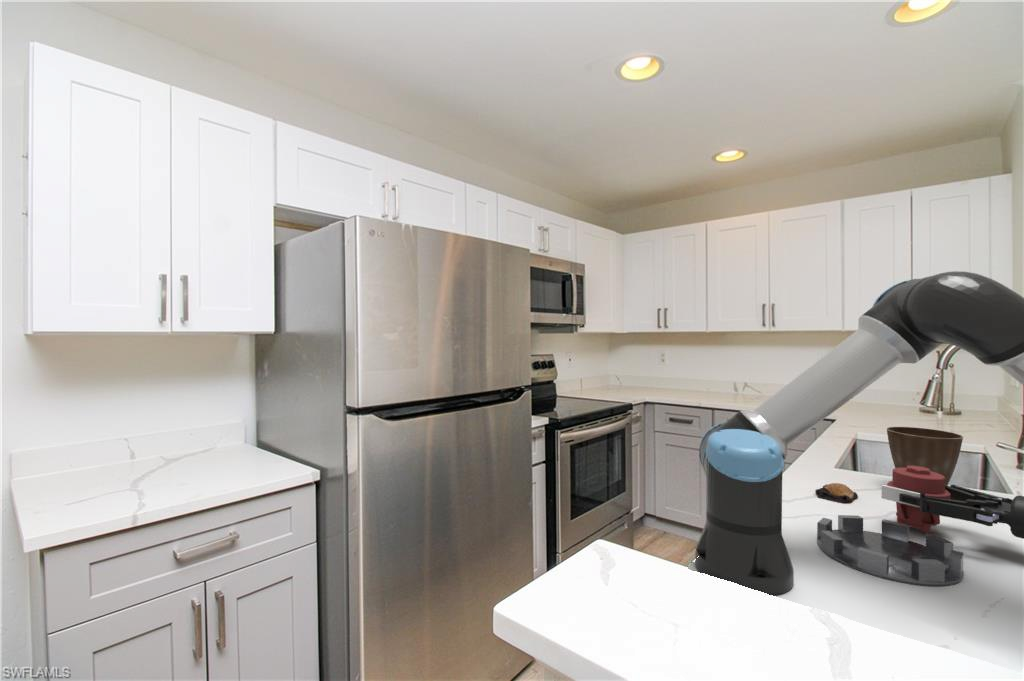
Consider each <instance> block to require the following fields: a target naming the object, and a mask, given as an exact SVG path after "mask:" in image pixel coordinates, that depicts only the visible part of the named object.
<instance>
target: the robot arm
mask: <svg viewBox="0 0 1024 681" xmlns="http://www.w3.org/2000/svg"><path fill="white" fill-rule="evenodd" d="M857 326H858V327H857V328H858V329H857V330H855V332H853V333H852V334H850V335H849V336H847V337H846V339H844V340H843V341H841V342H840V343H839V344H838V345H837V346H835V347H834V348H833V349H831V350H830V351H828V352H827V353H826V354H825V355H823V356H822V357H821V358H820V359H818V360H817V361H816V362H815V363H813V364H812V365H811V366H809V367H808V368H807V369H805V371H803V372H802V373H800V374H799V375H798V376H796V377H795V378H794V379H792V380H791V381H790V382H788V384H786V385H785V386H783V387H782V388H781V389H779V390H778V391H777V392H776V393H774V394H773V395H771V397H770V398H768V399H767V400H766V401H764V402H763V403H762V404H760V405H758V407H756V408H755V409H753V410H746V409H745V410H743V409H740V410H739V411H738V412H736V413H735V414H734V415H733V416H732V417H730V418H729V419H727V421H724V422H722V423H718V424H716V425H713V426H712V427H710V428H709V429H707V431H706V432H705V433H704V435H703V436H702V438H701V441H700V443H699V448H698V452H699V453H698V454H699V455H698V457H699V461H700V462H699V463H700V465H701V466H702V468H703V471H704V474H705V477H706V478H705V480H706V482H705V483H706V491H705V492H706V500H705V502H706V509H705V510H706V512H705V513H706V516H705V517H706V518H705V524H704V526H703V528H702V531H701V535H700V537H699V540H698V541H697V542H698V543H697V546H696V547H695V554H694V555H695V556H694V557H695V559H696V560H695V559H694V561H695V567H696V569H697V570H698V571H699V573H700V572H702V573H705V574H708V575H710V576H714V577H717V578H720V579H724V580H727V581H731V582H734V583H737V584H739V585H742V586H745V587H748V588H751V589H754V590H758V591H761V592H764V593H767V594H770V595H769V596H774V595H780V594H784V593H786V592H789V591H790V590H791V589H792V588H793V586H794V585H795V584H794V581H795V580H794V576H795V573H794V572H795V571H794V570H795V569H794V566H793V563H792V560H791V558H790V554H789V552H788V548H787V546H786V542H785V540H784V537H783V528H782V526H783V525H782V524H783V522H782V520H783V469H784V463H785V460H786V459H787V458H788V449H789V446H790V445H791V444H793V443H794V442H795V441H797V440H798V439H799V438H801V437H802V436H804V435H805V434H806V433H807V432H808V431H809V430H811V429H813V428H814V427H816V426H817V425H818V424H820V423H821V422H822V421H823V420H826V418H828V417H829V416H830V415H831V414H833V413H834V412H835V411H836V412H837V410H838V409H840V408H841V407H842V406H843V405H845V404H846V403H848V402H849V401H850V400H852V399H853V398H854V397H855V396H857V395H858V394H860V393H862V392H863V391H864V390H865V389H867V388H868V387H870V386H871V385H872V384H873V383H875V382H877V381H878V380H879V379H880V378H882V377H883V376H884V375H886V374H887V373H888V372H890V371H891V370H892V369H894V368H895V367H896V366H898V365H899V364H917V363H918V362H919V361H921V360H922V359H924V358H925V357H926V356H928V355H929V354H930V353H931V352H933V351H934V350H936V349H937V348H939V347H940V346H942V345H944V344H945V345H946V344H948V345H952V346H954V347H957V348H959V349H962V350H964V351H965V352H968V353H969V354H971V355H972V356H974V357H975V358H976V359H977V360H979V361H980V362H981V363H982V364H984V365H986V366H994V367H995V366H996V367H997V366H998V367H1000V368H1001V369H1002V370H1003V371H1005V372H1006V373H1007V374H1008V375H1009V376H1011V377H1012V378H1013V379H1015V380H1016V381H1017V382H1019V384H1021V385H1022V386H1024V297H1023V295H1021V294H1019V293H1017V292H1015V290H1012V289H1011V288H1009V287H1008V286H1006V285H1004V284H1002V283H1000V282H999V281H997V280H995V279H992V278H990V277H987V276H985V275H982V274H978V273H976V272H975V273H974V272H970V271H969V272H968V271H947V272H946V271H945V272H941V273H936V274H933V275H930V276H925V277H922V278H914V279H913V278H912V279H908V280H904V281H901V282H899V283H896V284H894V285H892V286H890V287H889V288H887V289H886V290H884V291H883V292H881V294H879V296H877V298H876V300H874V303H873V304H872V307H871V308H870V309H868V310H867V311H866V312H864V313H863V314H861V316H859V317H858V325H857ZM945 490H947V491H948V492H949V493H950V499H944V498H936V497H928V496H925V493H924V492H920V493H916V492H912V491H908V490H903V489H899V488H895V487H890V486H887V485H886V484H882V485H881V499H883V500H888V501H891V502H895V503H896V502H899V503H903V504H907V505H911V506H915V507H919V508H920V511H921V512H923V513H930V514H935V515H940V517H945V518H951V519H956V520H962V521H966V522H972V523H975V524H976V523H977V524H980V525H984V526H987V527H993V525H998V523H1000V524H1006V525H1008V526H1009V528H1010V532H1011V534H1012V535H1013V536H1014V537H1016V538H1019V539H1023V540H1024V496H1023V495H1015V497H1014V498H1013V499H1011V498H1009V497H1002V496H998V495H993V494H991V493H990V494H989V493H985V492H981V491H978V490H973V489H970V488H966V487H962V486H959V485H955V484H950V485H945ZM929 504H930V506H929ZM698 556H699V557H698ZM697 557H698V558H697Z"/></svg>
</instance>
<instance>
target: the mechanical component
mask: <svg viewBox="0 0 1024 681" xmlns="http://www.w3.org/2000/svg"><path fill="white" fill-rule="evenodd" d="M891 475H892V479H891V480H890V481H889V482H887V485H886V486H890V487H895V488H899V489H903V490H908V491H912V492H916V493H920V492H924V493H925V496H928V497H936V498H944V499H950V493H949V492H948V491H947V490H945V477H944V476H943V475H941V474H938V473H935V472H932V471H930V469H928V468H925V467H920V466H907V468H895V467H894V468H893V469H892V474H891ZM895 503H896V504H895V505H896V512H895V516H896V522H898V523H902V524H906V525H909V527H911V528H914V529H915V530H916V529H917V530H919V531H920V532H923V533H929V534H930V532H931V529H932V526H934V527H936V526H938V525H940V524H941V516H940V515H935V514H930V513H923V512H921V511H920V508H919V507H915V506H911V505H907V504H903V503H899V502H895ZM929 506H930V504H929Z"/></svg>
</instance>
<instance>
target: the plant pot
mask: <svg viewBox="0 0 1024 681" xmlns="http://www.w3.org/2000/svg"><path fill="white" fill-rule="evenodd" d="M886 433H887V434H886V435H887V439H888V440H887V441H888V446H889V450H890V454H891V459H892V462H893V465H894V469H895V468H907V466H920V467H925V468H928V469H930V471H932V472H935V473H938V474H941V475H943V476H944V477H945V485H947V486H949V482H950V481H951V479H952V477H953V474H954V471H955V469H956V465H957V463H958V461H959V460H958V459H959V457H960V453H961V449H962V444H963V441H964V440H963V439H964V436H963V435H962V434H959V433H956V432H952V431H951V432H950V431H945V430H939V429H933V428H932V429H931V428H924V427H912V426H911V427H910V426H889V427H887V428H886Z"/></svg>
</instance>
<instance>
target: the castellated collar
mask: <svg viewBox="0 0 1024 681" xmlns="http://www.w3.org/2000/svg"><path fill="white" fill-rule="evenodd" d="M837 517H838V518H837V529H833V519H831V518H827V517H822V518H821V519H820V520H819V521H818V522H817V523H816V525H817V526H816V527H817V528H816V529H817V531H816V532H817V534H816V538H817V539H816V544H817V546H818V548H819V549H820V550H821V552H823V553H824V554H825V555H826V556H828V557H829V558H831V559H833V560H834V561H836V562H839V563H840V564H842V565H845V566H846V567H849V568H851V569H853V570H856V571H858V572H862V573H863V574H864V573H865V574H867V575H870V576H874V577H878V578H880V579H884V580H888V581H891V582H897V583H903V584H908V585H914V586H915V585H916V586H921V587H922V586H924V587H925V586H926V587H949V586H953V585H956V584H957V585H958V584H959V583H961V582H962V581H963V580H964V575H965V574H964V552H963V551H959V550H954V542H952V541H950V540H948V539H946V538H944V537H942V536H939V535H938V534H936V533H930V532H929V533H927V532H925V545H924V544H922V543H919V542H916V541H913V540H910V526H909V525H906V524H902V523H898V522H897V521H894V520H889V519H885V518H883V519H882V520H881V532H876V531H869V530H864V518H863V517H862V516H860V515H850V514H848V515H847V514H845V515H843V514H838V515H837Z"/></svg>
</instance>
